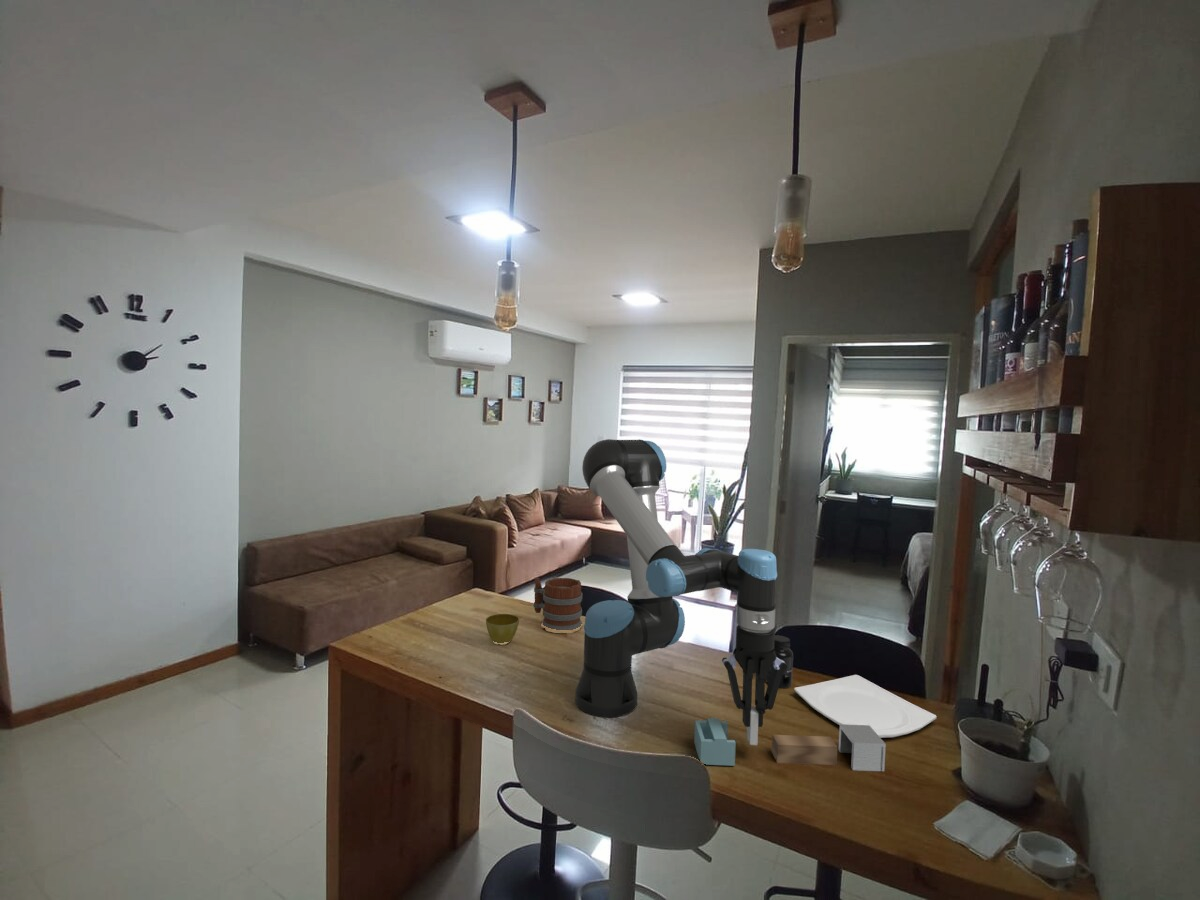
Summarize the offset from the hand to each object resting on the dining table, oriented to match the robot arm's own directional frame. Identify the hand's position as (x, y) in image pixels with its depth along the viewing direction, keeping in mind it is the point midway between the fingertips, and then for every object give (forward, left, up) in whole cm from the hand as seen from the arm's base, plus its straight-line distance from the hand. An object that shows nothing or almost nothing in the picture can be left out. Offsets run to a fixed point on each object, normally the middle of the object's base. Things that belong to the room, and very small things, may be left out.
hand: (752, 741), depth 109 cm
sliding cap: (-7, 0, -3) cm, 8 cm away
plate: (+32, +20, -4) cm, 38 cm away
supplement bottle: (+16, +33, -4) cm, 37 cm away
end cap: (+22, 0, -3) cm, 22 cm away
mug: (-47, +69, -4) cm, 84 cm away
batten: (+11, 0, -4) cm, 11 cm away
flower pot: (-62, +53, -4) cm, 82 cm away
